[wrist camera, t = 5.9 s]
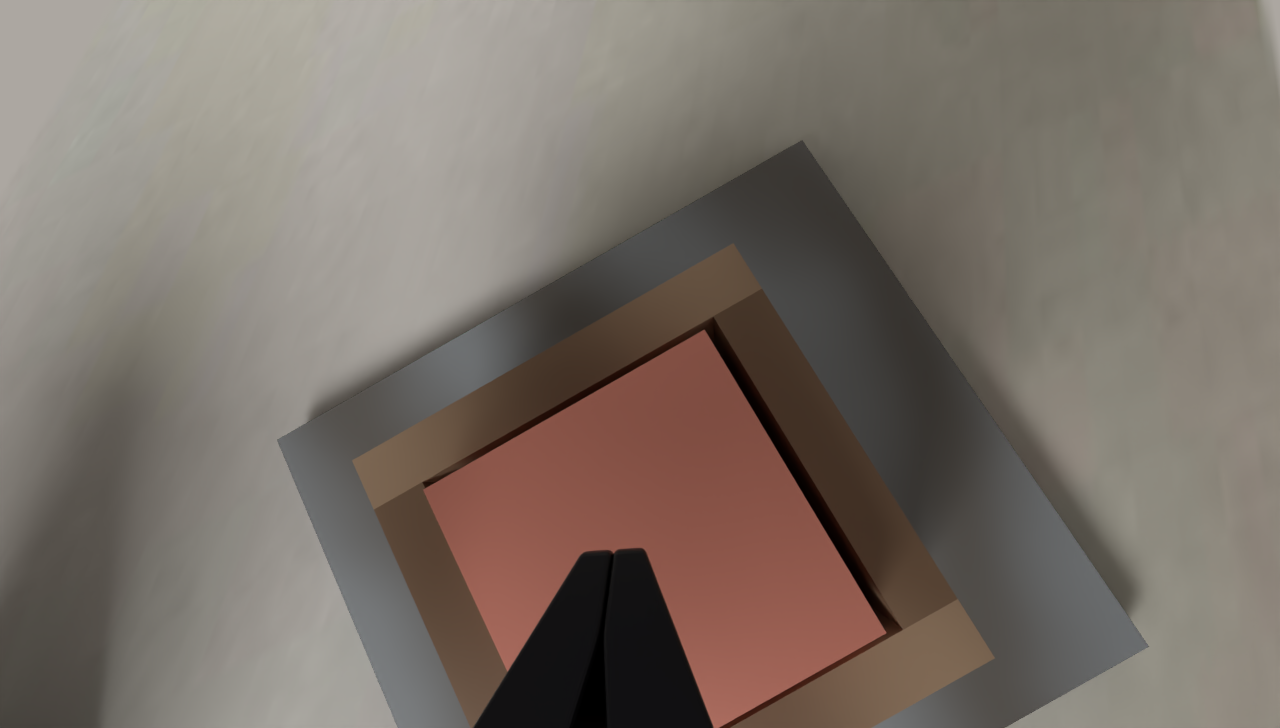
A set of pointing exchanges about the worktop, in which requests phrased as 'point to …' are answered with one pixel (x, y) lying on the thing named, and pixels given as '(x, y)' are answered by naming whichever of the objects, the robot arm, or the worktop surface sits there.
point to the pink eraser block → (662, 528)
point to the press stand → (800, 431)
